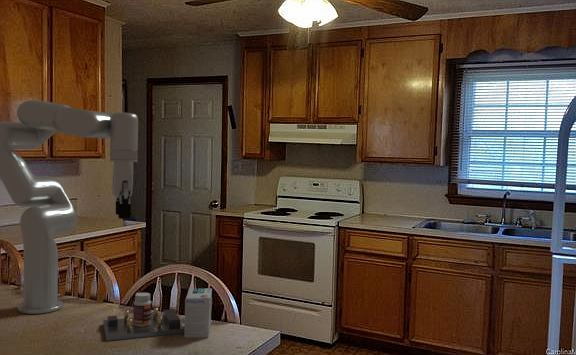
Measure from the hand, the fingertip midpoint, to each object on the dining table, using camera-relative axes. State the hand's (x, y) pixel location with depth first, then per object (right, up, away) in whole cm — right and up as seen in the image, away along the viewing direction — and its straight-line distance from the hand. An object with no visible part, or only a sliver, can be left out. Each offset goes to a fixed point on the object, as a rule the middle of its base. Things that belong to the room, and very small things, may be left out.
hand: (122, 216), depth 151 cm
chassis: (+7, -31, -5) cm, 32 cm away
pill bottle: (+7, -30, -5) cm, 31 cm away
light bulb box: (+22, -32, -5) cm, 39 cm away
